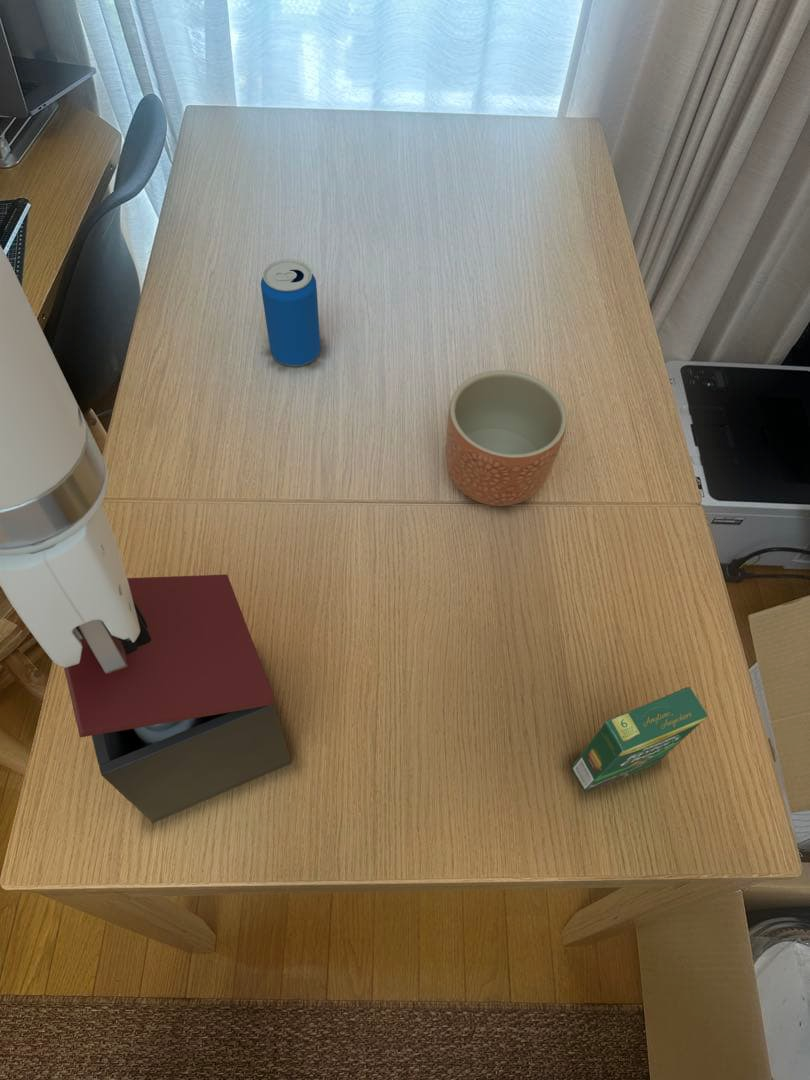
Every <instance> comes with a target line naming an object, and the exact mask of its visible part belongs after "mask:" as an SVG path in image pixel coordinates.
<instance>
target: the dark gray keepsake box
mask: <svg viewBox="0 0 810 1080" xmlns="http://www.w3.org/2000/svg"><path fill="white" fill-rule="evenodd" d="M277 713H278V712H277V710H276V707H275V703H274V702H273V703H272V705H269V706H263V707H257V708H251V709H246V710H240V711H234V712H228V713H222V714H216V715H210V716H206V718H207V720H208V722H205V723H203V724H200V725H198V726H195V727H193V728H190V729H188V730H185V731H183V732H181V733H178V734H176V735H173V736H171V737H168V738H166V739H163V740H161V741H158V742H156V743H153V744H151V745H148V746H146V745H145V744H144V743H143V742H142V740H141V739H140V738H139V737H138V735H137V734H136V733H135V731H134V729H127V730H121V731H116V732H110V733H104V734H98V735H92V736H91V740H92V743H93V748H94V751H95V756H96V760H97V764H98V768H99V772H100V776H101V777H103V778H104V779H105V780H106V781H107V782H108V783H109V784H110V785H111V786H112V787H113V788H115V789H116V790H117V791H118V792H119V793H120V794H121V795H122V796H123V797H124V798H125V799H126V800H127V801H129V802H130V803H131V805H133V806H134V807H135V808H136V809H137V810H138V811H140V812H141V814H143V815H144V816H145V817H146V818H147V819H148V820H149V821H150V822H151V823H152V824H155V823H158V822H160V821H162V820H165V819H167V818H169V817H172V816H173V815H176V814H178V813H180V812H183V811H185V810H187V809H190V808H192V807H195V806H197V805H199V804H201V803H204V802H206V801H209V800H210V799H213V798H216V797H218V796H220V795H222V794H225V793H227V792H229V791H231V790H234V789H236V788H239V787H241V786H243V785H245V784H247V783H250V782H252V781H254V780H257V779H259V778H261V777H264V776H266V775H269V774H270V773H273V772H275V771H279V770H281V769H282V768H284V767H287V766H289V765H291V764H292V760H291V757H290V754H289V750H288V746H287V742H286V740H285V736H284V733H283V729H282V727H281V723H280V720H279V716H278V714H277Z"/></svg>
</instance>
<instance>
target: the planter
mask: <svg viewBox="0 0 810 1080" xmlns="http://www.w3.org/2000/svg"><path fill="white" fill-rule="evenodd" d="M446 421H447V422H446V440H445V450H444V453H445V454H444V455H445V465H446V469H447V472H448V475H449V477H450V479H451V480H452V482H453V483H454V485H455V486H456V487H457V489H458V490H460V492H461V493H462V494H464V495H465V496H467V497H468V498H470V499H472V500H473V501H476V502H478V503H481V504H484V505H487V506H493V507H506V506H512V505H517V504H520V503H522V502H524V501H525V502H526V501H527V500H528V499H530V498H531V497H533V496H534V495H535V494H537V493H538V491H540V490H541V488H542V487H543V486H544V485H545V483H546V481H547V480H548V478H549V476H550V474H551V471H552V468H553V466H554V463H555V461H556V458H557V456H558V453H559V451H560V449H561V446H562V445H563V444H562V443H563V441H564V439H565V435H566V431H567V428H568V427H567V426H568V414H567V409H566V406H565V404H564V402H563V400H562V399H561V397H560V396H559V394H558V393H557V392H556V391H555V390H554V389H553V388H552V387H551V386H550V385H548V384H547V383H545V382H544V381H543V380H541V379H539V378H537V377H535V376H533V375H530V374H527V373H525V372H520V371H515V370H508V369H507V370H500V369H499V370H489V371H485V372H481V373H478V374H475V375H473V376H471V377H470V378H468V379H466V380H465V381H463V382H462V383H461V384H460V385H459V386H458V387H457V389H456V390H455V391H454V393H453V395H452V397H451V400H450V402H449V406H448V411H447V420H446Z"/></svg>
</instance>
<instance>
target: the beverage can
mask: <svg viewBox="0 0 810 1080" xmlns="http://www.w3.org/2000/svg"><path fill="white" fill-rule="evenodd" d="M312 271H313V270H312V268H310V266H309V265H308V264H307V263H305V262H304V261H301V260H300V259H294V258H283V259H278V260H274V261H273V262H271V263H269V264H268V265H267V266H266V267H265V268H264V270H263V273H262V277H261V281H260V290H261V295H262V296H261V297H262V303H263V311H264V317H265V318H264V319H265V324H266V331H267V339H268V344H269V351H270V355H271V356H272V358H273V359H274V360H276V361H277V362H278V363H280V364H282V365H286V366H291V367H299V366H304V365H307V364H309V363H311V362H313V361H314V360H316V359H317V358H318V356H320V353H321V350H322V344H321V331H320V318H319V302H318V301H319V300H318V290H317V289H318V288H317V280H316V277H315V275H314V274H313V272H312Z"/></svg>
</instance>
